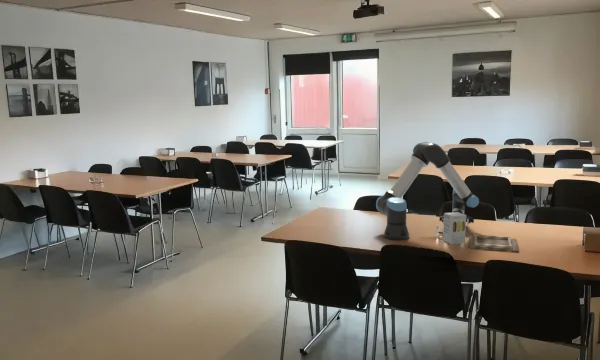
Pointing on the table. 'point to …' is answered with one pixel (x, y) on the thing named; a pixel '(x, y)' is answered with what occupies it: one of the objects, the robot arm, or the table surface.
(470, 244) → the grey brown square tray
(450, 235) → the supplement box
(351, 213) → the table surface
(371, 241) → the table surface
